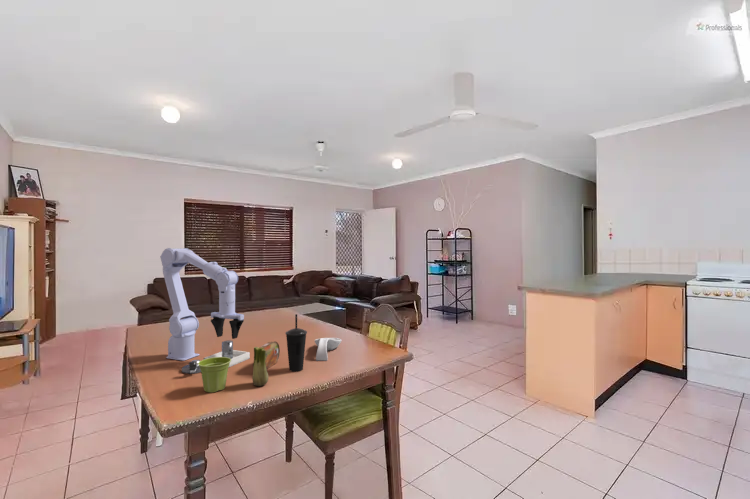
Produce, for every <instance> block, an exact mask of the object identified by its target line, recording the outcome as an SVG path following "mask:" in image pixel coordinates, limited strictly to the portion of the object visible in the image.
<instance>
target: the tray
mask: <svg viewBox="0 0 750 499" xmlns="http://www.w3.org/2000/svg"><path fill="white" fill-rule="evenodd" d="M250 354H251V353H250V351H245V350H243V351H242V350H235V349H233V358H232V359H231V362H230V364H229V367H228V369H229V368H230V367H234V366H236V365H238V364H240V363H243V362H245V361H247V360H249V359H251V358H250V356H251V355H250ZM213 357H222V350H221V351H219V352H216V353H213V354H210V355H209V356H208V355H207V356H205V357H203V359H202V360H204V359H208V358H213Z"/></svg>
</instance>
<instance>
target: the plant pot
mask: <svg viewBox="0 0 750 499" xmlns="http://www.w3.org/2000/svg"><path fill="white" fill-rule="evenodd" d="M230 362H231V359H230V358H227V357H213V358H208V359H204V360H203V359H202V360H200V362H198V365H199V366H200V370H201V372H200V373H201V380H202V384H203V391H205V393H215V392H218V391H224V389H225V388H226V384H227V378H228V372H229V368H230V367H229V364H230ZM228 367H229V368H228Z"/></svg>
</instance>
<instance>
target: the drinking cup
mask: <svg viewBox="0 0 750 499" xmlns="http://www.w3.org/2000/svg"><path fill="white" fill-rule="evenodd" d="M294 317H295V319H294V320H295V322H294V323H295V325H294V326H295V328H291V329H289V330H287V331H285V332H284V333H285V337H286V346H287V347H286V348H287V356H288V357H287V358H288V359H287V361H288V369H289V371H290V372H291V373H294V372H298V373H299V372H302V371H303V370H304V360H305V352H306V339H307V334H308V331H307V330H305V329H304V328H300V327H299V328H298V314H295V316H294Z"/></svg>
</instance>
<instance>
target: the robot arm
mask: <svg viewBox="0 0 750 499" xmlns="http://www.w3.org/2000/svg"><path fill="white" fill-rule="evenodd" d="M159 259H160V261H161V266H162V274H163V279H164V282H165V286H166V289H167V293H168V297H169V301H170V305H171V309H172V313H173V314H172V315H171V316H170V318H169V319H168V322H169V326H168V330H169V333H170V335H171V336H170V337H169V339H168V342H167V356H166V358H165V359H171V360H174V361H175V360H176V361H186V360H190V359H193V358H196V357H198V356H200V354H201V353H196V352H195V334H196V333H197V331H198V329H199V326H200V322H199V319H198V317H196V314H195V312H194V311H192V310H190V309H189V305H188V302H187V298H186V295H185V291H184V287H183V282H182V280H181V276H180V272H181V270H182V269H184V267H185V266H187V265H188V264H190V265H193V266H195V267H196V268H198V269H200V270H202V273H203V275H205V276H206V277H208V278H210V279H212V280H213V281H215V284H216V285H217V289H218V292H219V294H218V298H219V299H218V310H219V311H217V312H216V311H214V312H213V311H212V312H211V313H210V318H211V319H210V322H211V324H212V326H213V328H214V331H215V334H216V337H217V338H219V337H223V336H224V326H225V325H224V324H225V320H226V319H227V320H228V319H229V323H228V324H229V325H230V330H231V339H232V340H235V339H237V338H238V337H239V332H240V329H241V327H242V325H243V323H244V321H245V314H242V313H237V312H236V285H237V284H238V282H239V275H238V273H237V272H236V271H234V270H228V269H227V268H226V267H222V266H221V265H219V264H218V262H217V261H210V262H208V261H206V260H205V259H203V258H202V257H200V256H199V255H198V254H196V253H195V252H194V250H191V249H190V248H186V247H184V248H171V247H167V248H164V250H163V251H162V253H161V255H160V258H159Z"/></svg>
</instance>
